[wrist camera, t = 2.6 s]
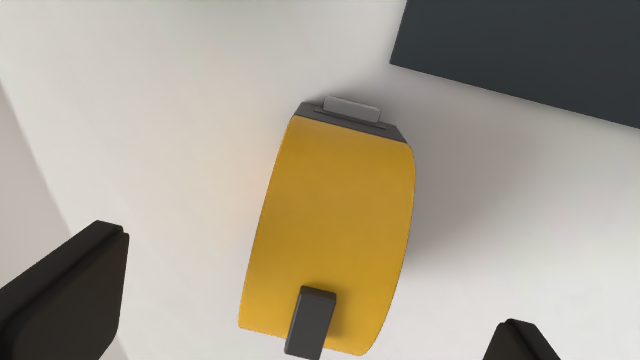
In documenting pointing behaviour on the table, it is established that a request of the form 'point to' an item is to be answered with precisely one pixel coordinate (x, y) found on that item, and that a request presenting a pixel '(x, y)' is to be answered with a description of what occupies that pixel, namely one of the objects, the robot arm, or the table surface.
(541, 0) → the mat
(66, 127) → the table surface
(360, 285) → the tape measure
